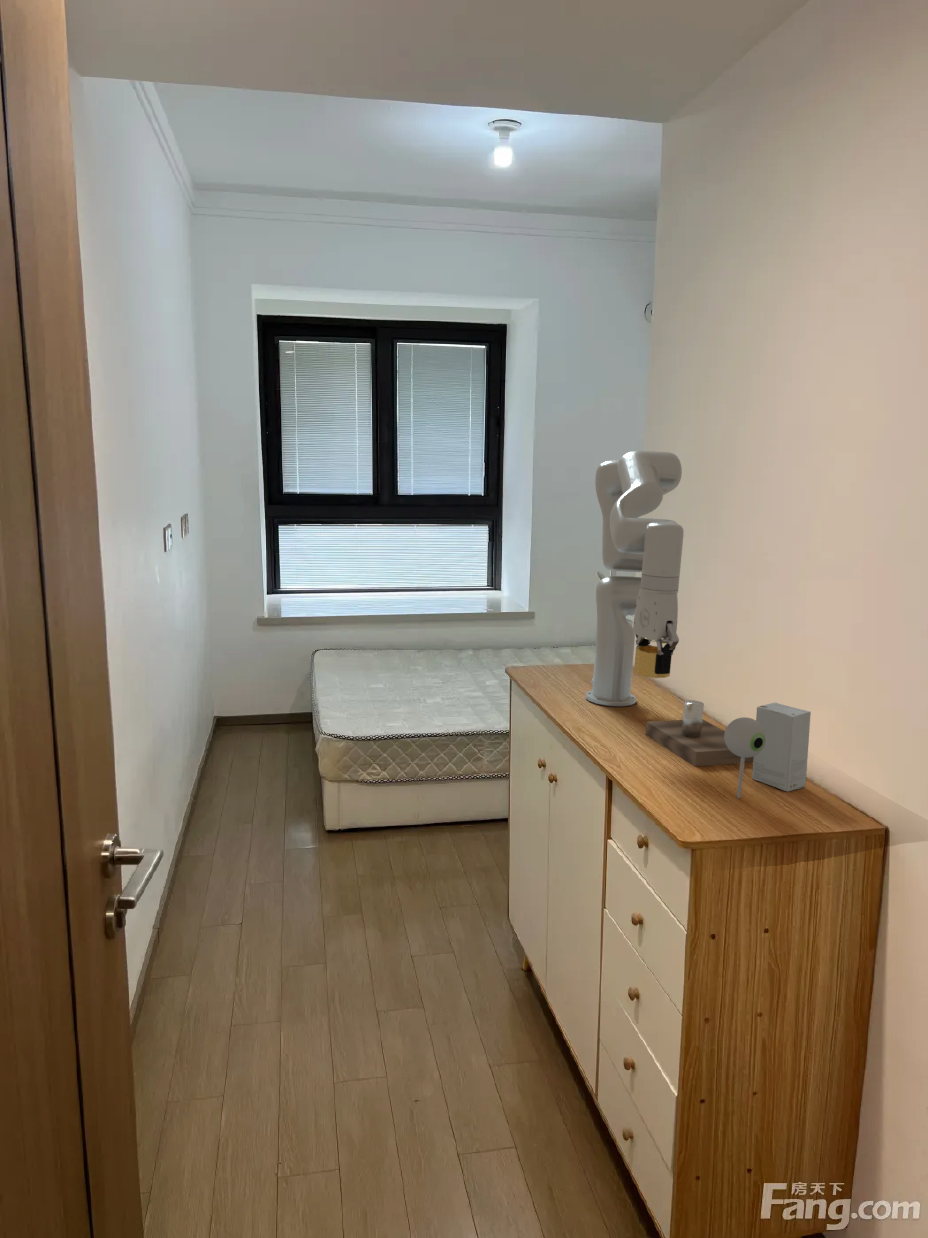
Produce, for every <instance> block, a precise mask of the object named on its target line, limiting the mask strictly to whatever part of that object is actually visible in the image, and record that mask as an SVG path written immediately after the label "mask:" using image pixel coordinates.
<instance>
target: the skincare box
mask: <svg viewBox="0 0 928 1238" xmlns="http://www.w3.org/2000/svg"><path fill="white" fill-rule="evenodd" d="M811 713H812V711H810V710H805V709H800V708H797V707H793V706H789V705H785V704H781V703H778V702H772V703H767V704H763V705H759V706H757V707H756V715H755V716H756V717H755V720H756V721H757V722H758V723H760V724H761V726H762V727H763V728H764V730H765V733H766V744H765V746H764V749H763V750H762V751H761V752H760V753H759V754H757V755H755V756H754V760H753V762H752V764H753V766H752V776H751V777H752V780H755V781H758V782H760V783H762V784H765V785H768V786H771V787H774V788H776V789H779V790H781V791H785V792H792V791H794V790H799V789H803V788H805V786H806V784H807V783H806V782H807V771H808V769H807V768H808V759H809V757H808V756H809V744H810V742H809V741H810V729H811V728H810V727H811V716H812V715H811Z"/></svg>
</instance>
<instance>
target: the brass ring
mask: <svg viewBox="0 0 928 1238" xmlns="http://www.w3.org/2000/svg"><path fill="white" fill-rule="evenodd" d="M634 654H635V656H634V665H633V666H634V667H633V673H634V674H636V675H638V676H640V677H641V676H642V677H646V678H655V679H662V678H668V677H670V676H671V672H670V673H669V674H656V673H655V662H656V654H658V648H657V645H651V646H638V647H637V646H636V647H635V653H634ZM672 656H673V655H671V658H672ZM670 668H671V666H670Z"/></svg>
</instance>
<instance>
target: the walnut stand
mask: <svg viewBox="0 0 928 1238" xmlns="http://www.w3.org/2000/svg"><path fill="white" fill-rule="evenodd" d="M682 721H683V719H675V720H671V719H670V720H655V721H653V720H652V721H646V723H645V724H646V726H645V733H644V734H645V736H647V737H649V738H650V740H652V741H654V742H656V743H658V744H659V745H661V746H663V747H664V748H665V749H667V750H668V751H670V752H671V753H673V754H675V755H676V756H677V757H680V758H681V759H683V760H684V761H686V762H687V763H689V764H691V765H693V766H694V767H704V766H706V767H707V766H717V765H734V764H740V762H741V757H739V756H737V755H735V754H733V753H732V752H731V751H730V750H729V749H728V747H727V746H726V743H725V739H724V733H725V730H723V729H722V728H720V727H718V726H716V725H714V724H712V723H711V722H709V721H706V720H705V719H703V718H702V728H701V737H699V738H690V737H685V736H683V735H682V734H681V731H682ZM753 760H754V756H753V757H748V758H745V761H744V764H745V763H746V764H747V763H753Z"/></svg>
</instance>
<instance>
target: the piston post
mask: <svg viewBox="0 0 928 1238" xmlns="http://www.w3.org/2000/svg"><path fill="white" fill-rule="evenodd" d="M683 702H684V703H683V711H682V720H683V721H682V731H681V734H682V735H683V736H685V737H690V738H699V737H701V728H702V719H703V716H704V715H703V714H704V708H705V706H704V705H705V704H704V703H703V702H702V701H698V700H695V699H694V700H692V699H691V700H689V699H687V700H684V701H683Z"/></svg>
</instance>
